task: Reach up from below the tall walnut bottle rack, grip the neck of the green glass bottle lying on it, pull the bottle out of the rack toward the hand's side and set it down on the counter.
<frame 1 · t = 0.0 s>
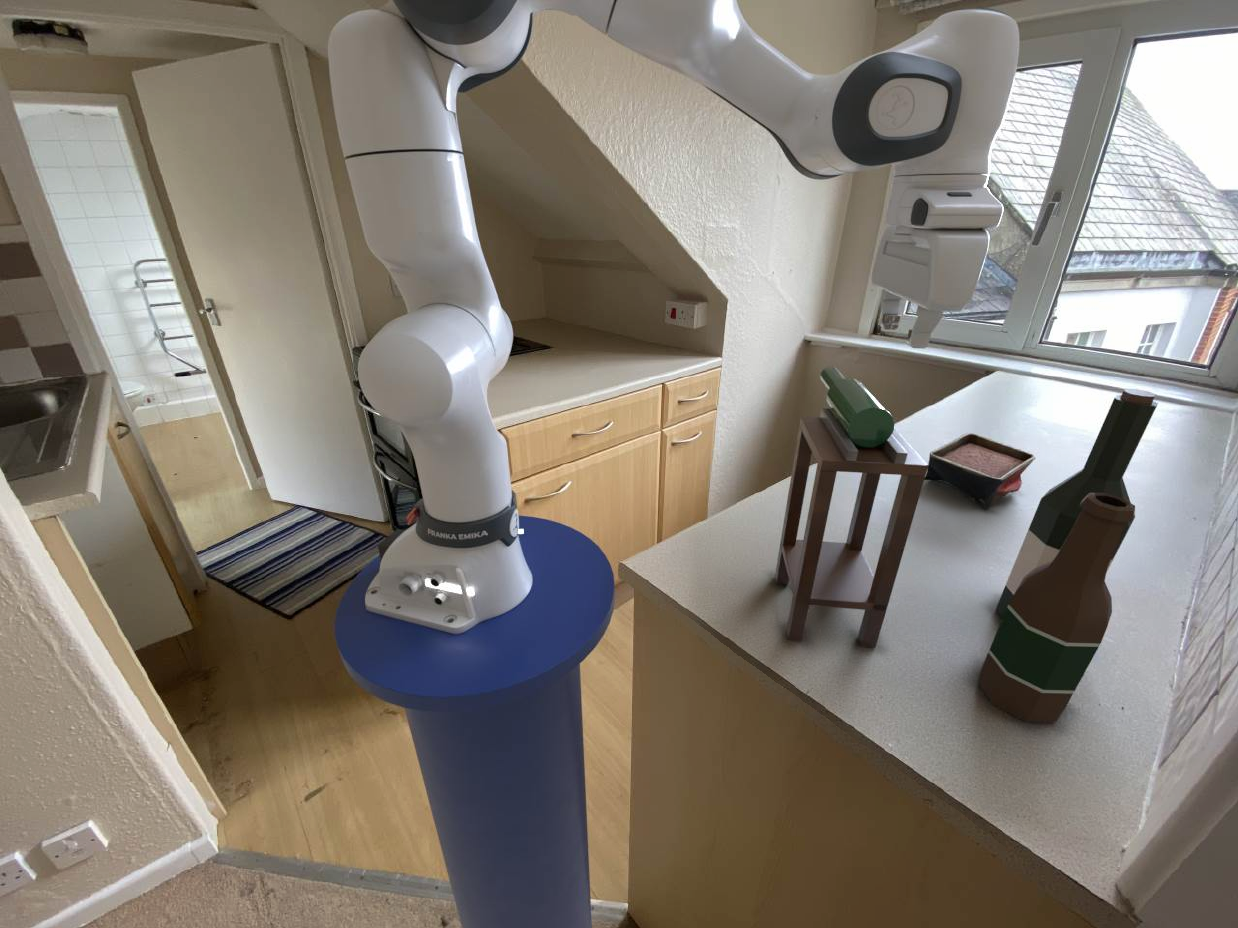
hand: (901, 337, 62), 33 cm above the counter, tool pointing down, fingers open, 8 cm apart
beer bottle 2: (1017, 695, 56), on the counter
bottle rack: (820, 609, 68), on the counter
baking dish: (968, 488, 97), on the counter
wine bottle: (1033, 622, 66), on the counter
green bottle: (857, 410, 58), point 26 cm above the counter, touching bottle rack
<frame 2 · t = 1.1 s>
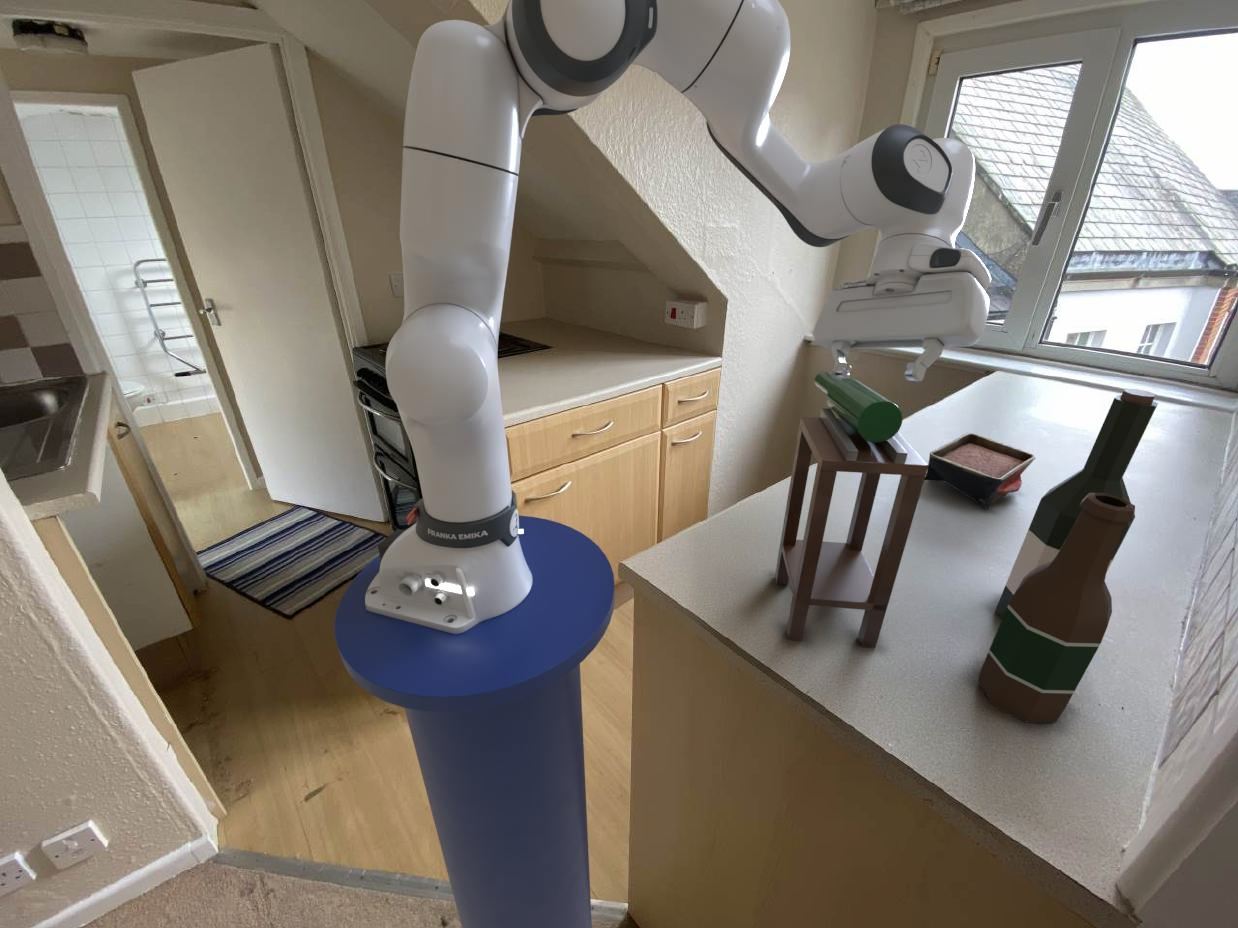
hand: (874, 378, 66), 27 cm above the counter, tool tilted 35°, fingers open, 8 cm apart
green bottle: (861, 408, 58), point 27 cm above the counter, tilted 6°, touching bottle rack, gripper
everything else where it was.
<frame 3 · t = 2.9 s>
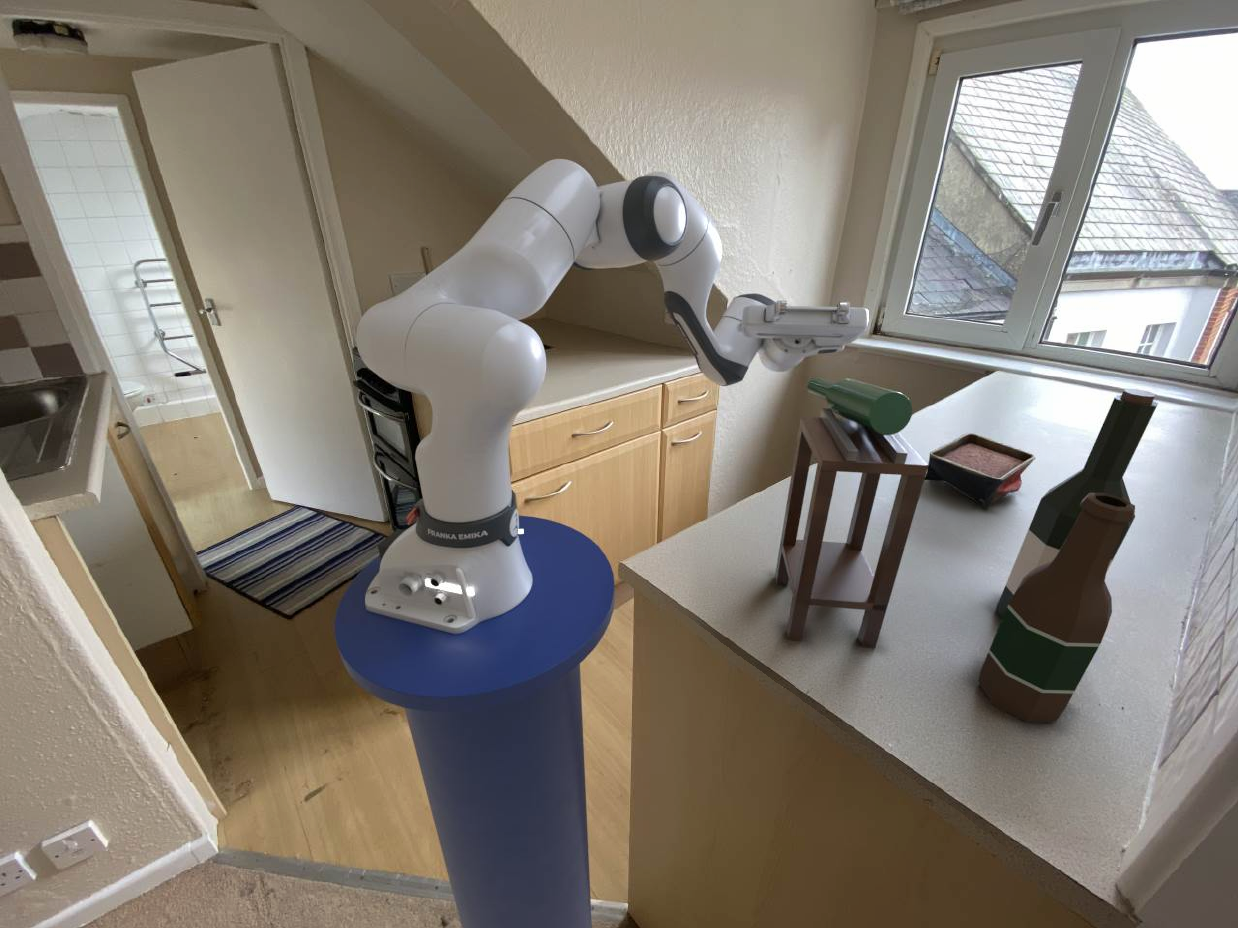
hand: (813, 306, 82), 33 cm above the counter, tool pointing upward, fingers open, 8 cm apart
green bottle: (866, 404, 58), point 27 cm above the counter, tilted 14°, touching bottle rack
everything else where it was.
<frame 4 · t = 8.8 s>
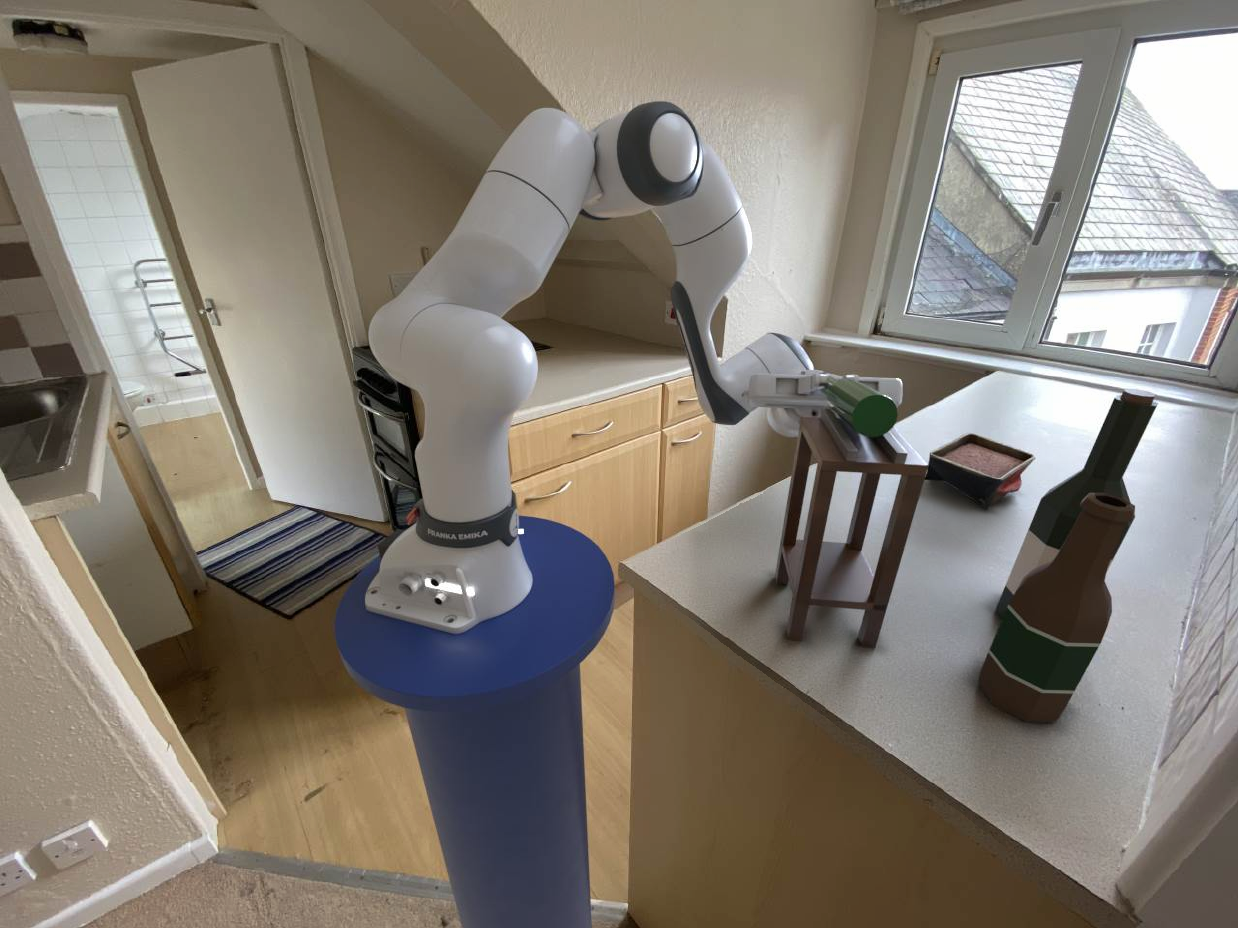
hand: (837, 380, 66), 27 cm above the counter, tool pointing upward, fingers closed on green bottle, 2 cm apart
green bottle: (859, 406, 58), point 27 cm above the counter, tilted 11°, touching bottle rack, gripper
everything else where it was.
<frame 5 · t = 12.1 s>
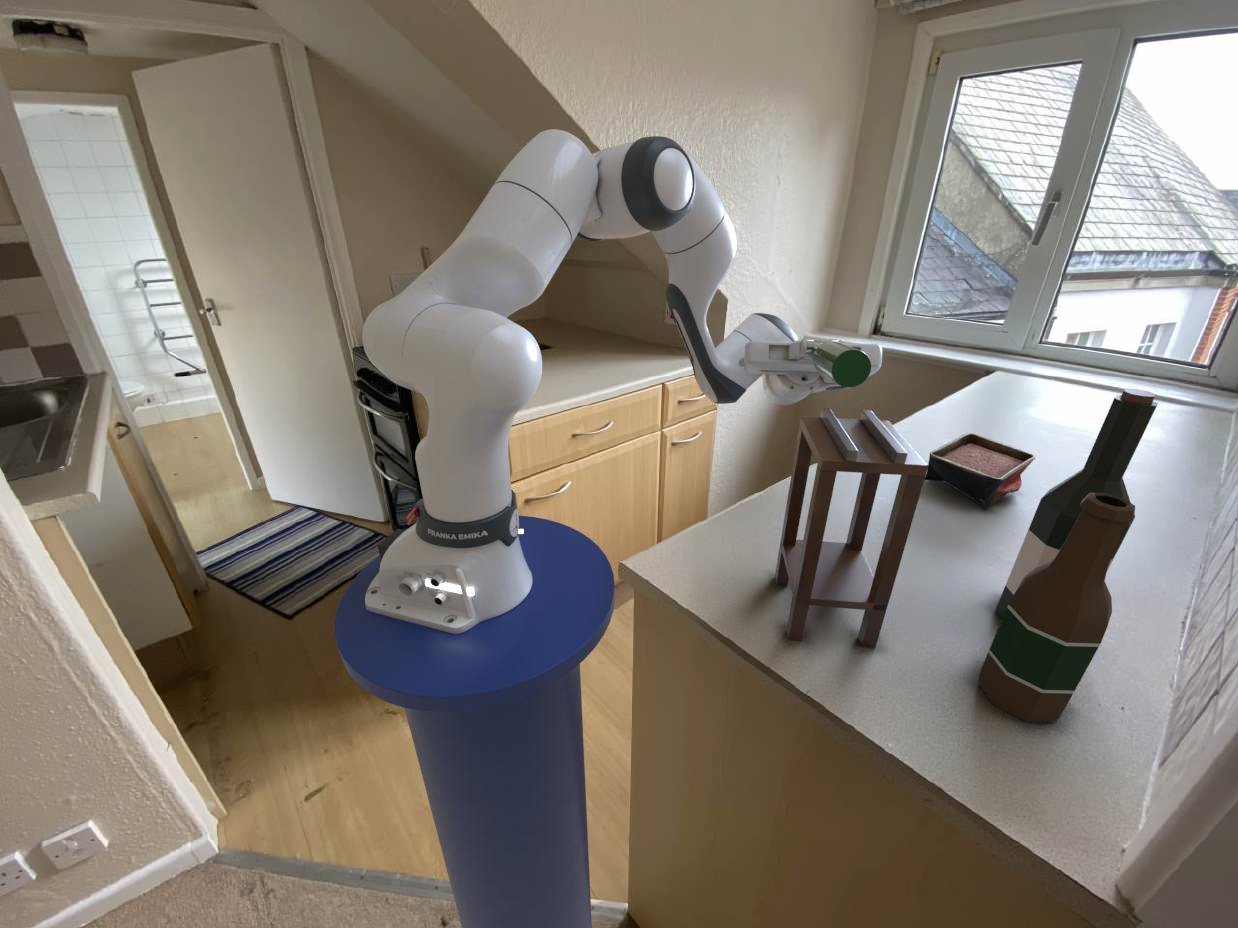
hand: (822, 344, 75), 29 cm above the counter, tool pointing upward, fingers closed on green bottle, 2 cm apart
green bottle: (839, 362, 66), point 29 cm above the counter, tilted 11°, touching gripper
everything else where it was.
when the fingers open (16 cm above the counter, at t = 15.5 s): green bottle drops 14 cm, point 2 cm above the counter.
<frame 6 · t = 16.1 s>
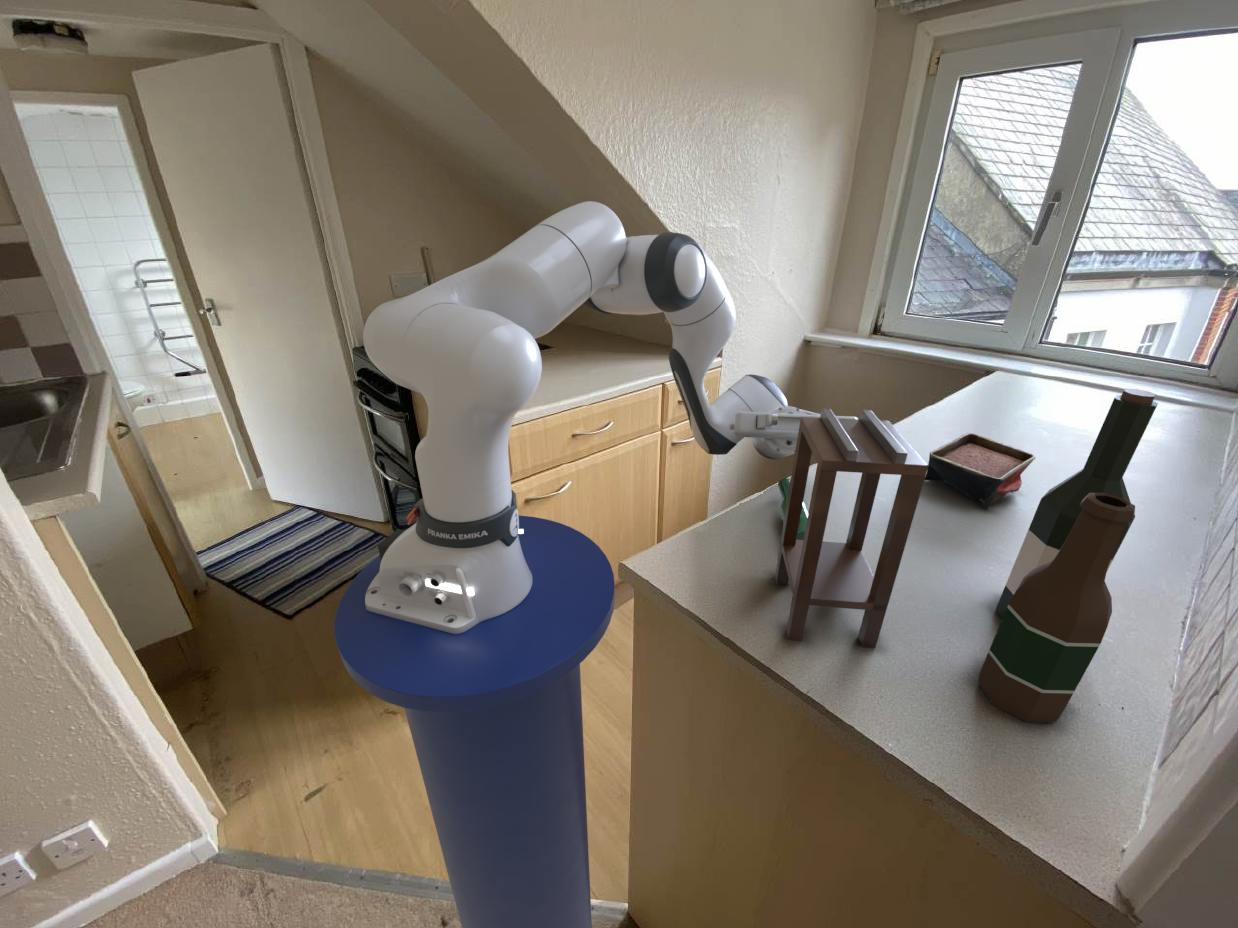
hand: (803, 419, 83), 16 cm above the counter, tool pointing upward, fingers open, 8 cm apart
green bottle: (799, 525, 82), point 2 cm above the counter
everything else where it was.
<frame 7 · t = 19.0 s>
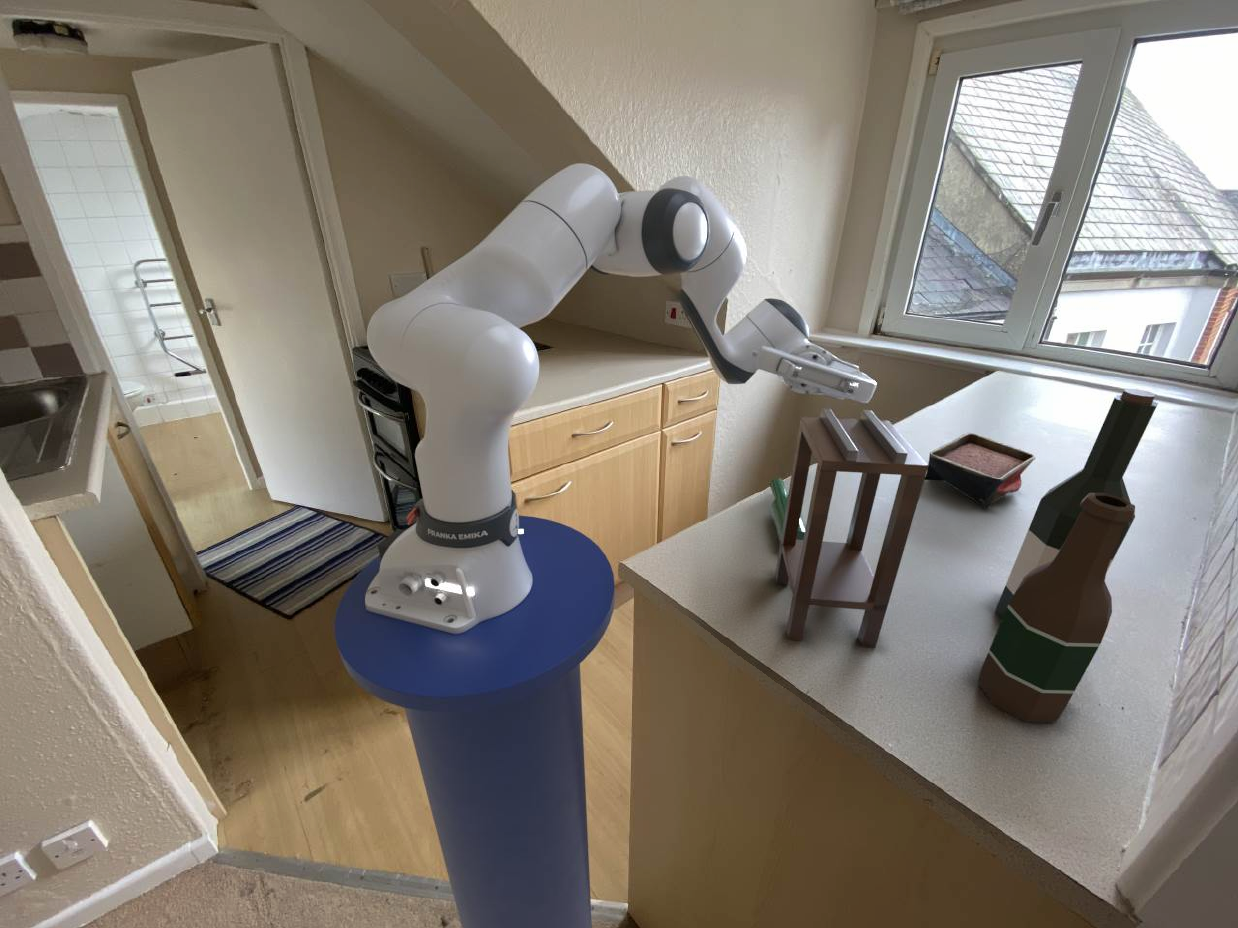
hand: (823, 381, 83), 22 cm above the counter, tool horizontal, fingers open, 8 cm apart
green bottle: (790, 524, 82), point 2 cm above the counter, tilted 35°
everything else where it was.
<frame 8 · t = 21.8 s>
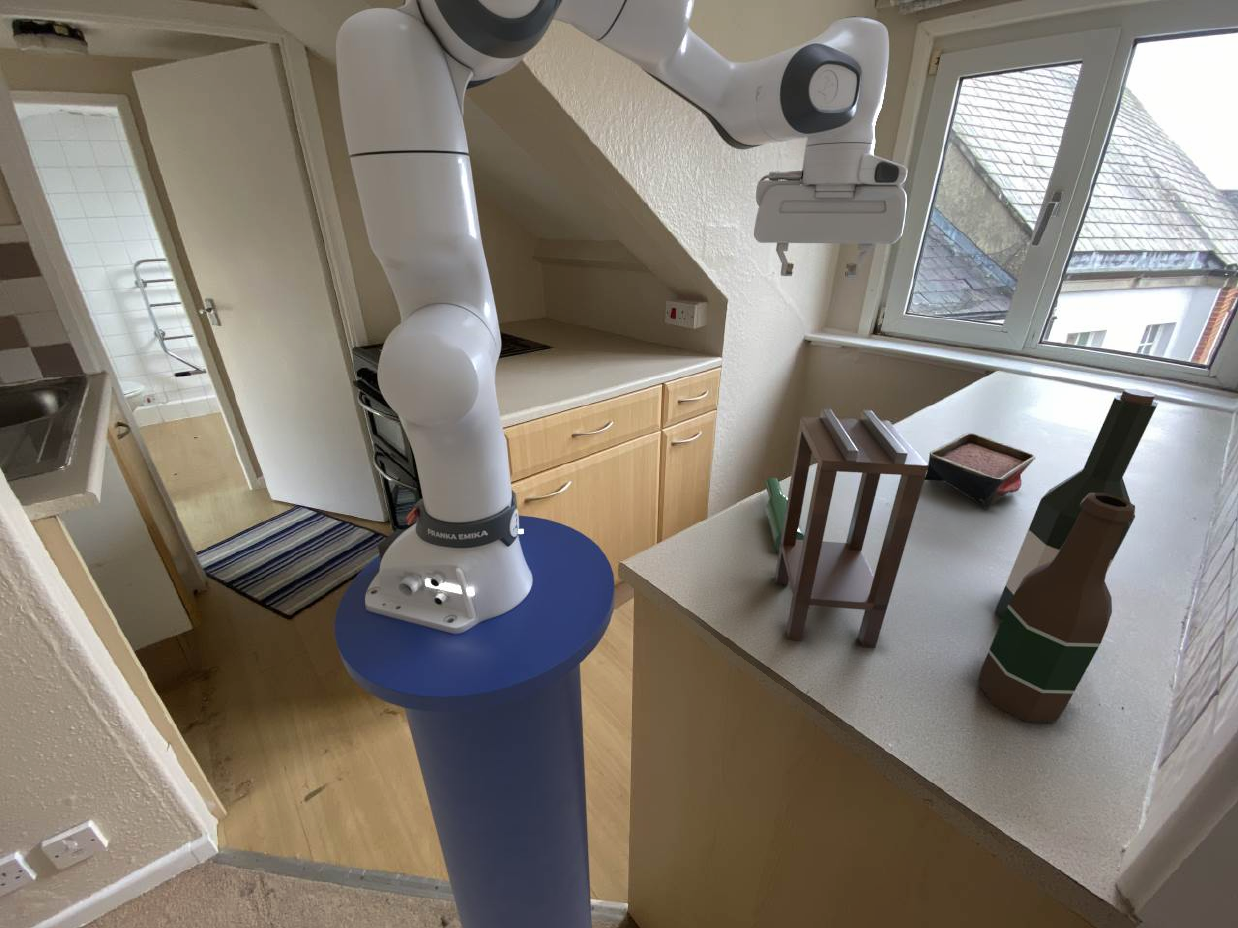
hand: (818, 276, 79), 37 cm above the counter, tool pointing down, fingers open, 8 cm apart
green bottle: (784, 524, 82), point 2 cm above the counter, tilted 56°
everything else where it was.
at the end: green bottle point 2.2 cm above the counter; green bottle inside the target area (3.5 cm from its centre), point 2.2 cm above the counter; green bottle touching counter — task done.
